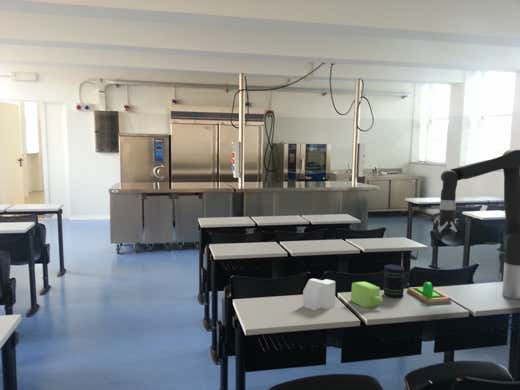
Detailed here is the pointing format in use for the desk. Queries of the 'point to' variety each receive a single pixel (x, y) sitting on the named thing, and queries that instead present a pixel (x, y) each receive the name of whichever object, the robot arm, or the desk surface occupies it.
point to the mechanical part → (428, 291)
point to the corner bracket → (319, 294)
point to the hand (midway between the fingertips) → (445, 238)
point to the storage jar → (393, 281)
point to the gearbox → (365, 294)
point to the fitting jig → (430, 301)
